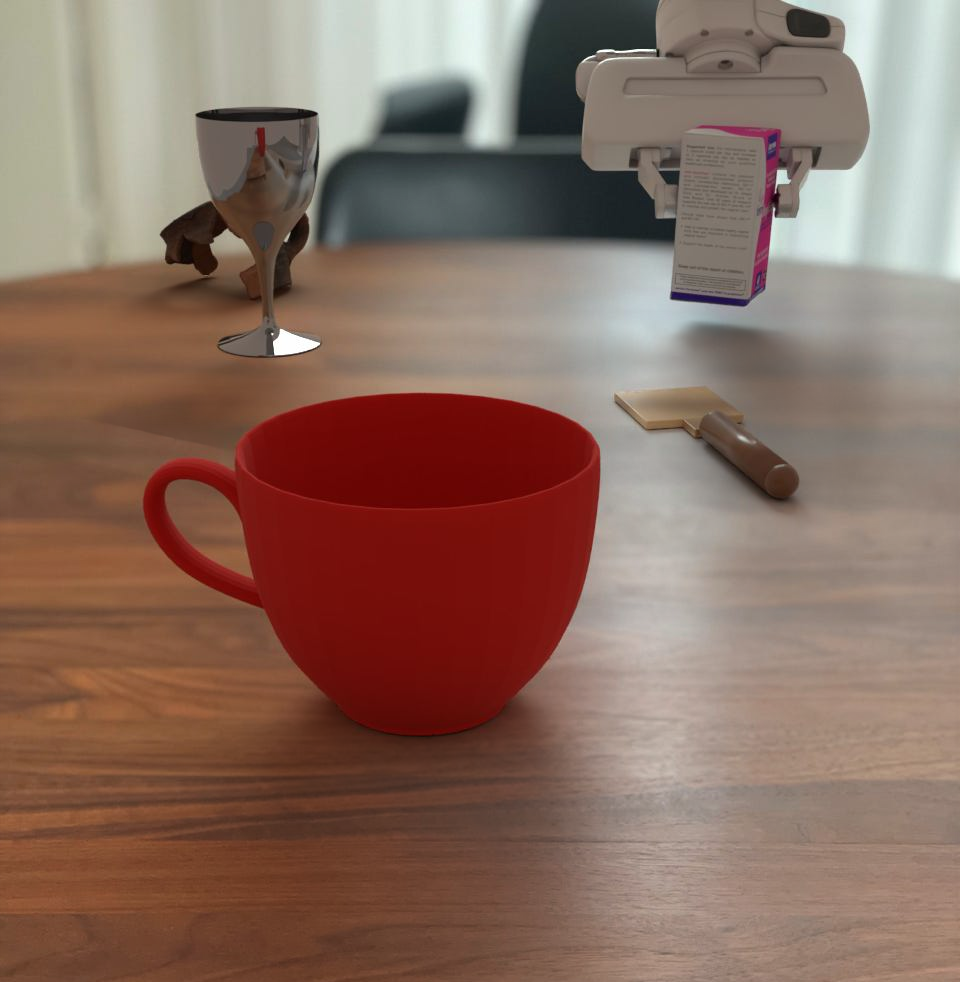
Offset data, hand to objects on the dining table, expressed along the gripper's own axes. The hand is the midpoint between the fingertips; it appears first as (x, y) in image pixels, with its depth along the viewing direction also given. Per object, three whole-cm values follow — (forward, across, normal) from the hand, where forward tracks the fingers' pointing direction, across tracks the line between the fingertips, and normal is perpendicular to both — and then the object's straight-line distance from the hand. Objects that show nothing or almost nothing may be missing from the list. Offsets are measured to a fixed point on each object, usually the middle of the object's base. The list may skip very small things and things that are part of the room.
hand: (727, 213), depth 105 cm
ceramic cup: (+45, -21, -34) cm, 61 cm away
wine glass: (+9, -32, +2) cm, 33 cm away
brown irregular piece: (-3, -36, +14) cm, 39 cm away
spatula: (+24, -4, -13) cm, 28 cm away
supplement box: (+4, 0, +5) cm, 6 cm away
